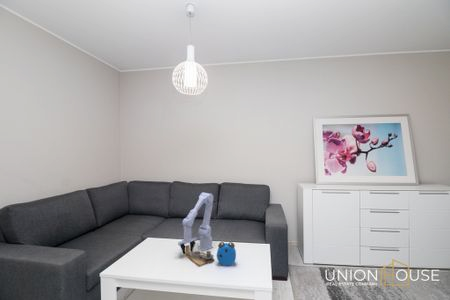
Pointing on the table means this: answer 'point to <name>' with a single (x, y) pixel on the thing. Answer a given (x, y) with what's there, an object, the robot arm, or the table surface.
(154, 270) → the table surface
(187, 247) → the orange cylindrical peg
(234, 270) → the table surface
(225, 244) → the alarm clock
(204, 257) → the wooden board with socket
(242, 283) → the table surface
